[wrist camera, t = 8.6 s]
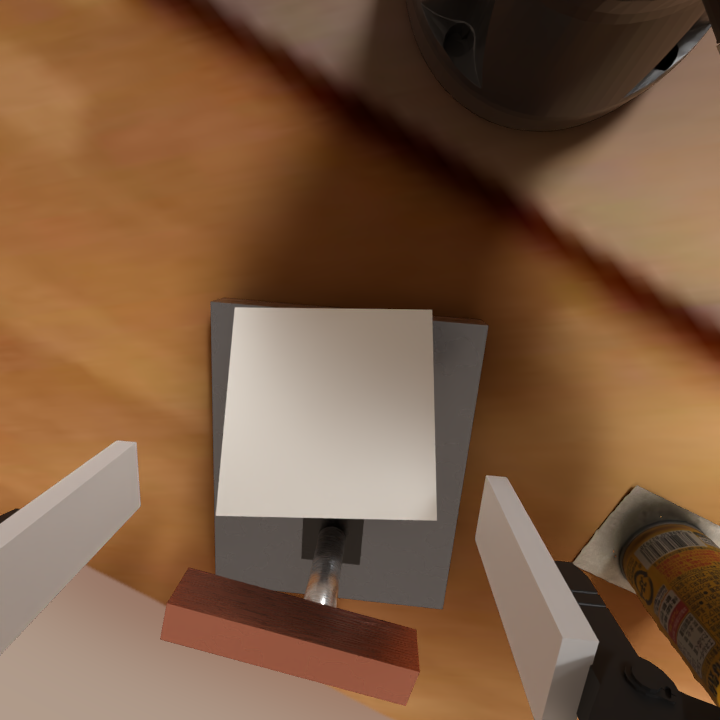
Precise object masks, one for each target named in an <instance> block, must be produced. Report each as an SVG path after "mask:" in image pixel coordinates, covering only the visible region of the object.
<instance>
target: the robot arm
mask: <svg viewBox="0 0 720 720" xmlns="http://www.w3.org/2000/svg"><path fill="white" fill-rule="evenodd" d="M406 3H407V9H408V14H409V19H410V22H411V26H412V30H413V33H414V36H415V39H416V41H417V44H418V46H419V49H420V51H421V53H422V55H423V57H424V59H425V61H426V63H427V65H428V66H429V68H430V69H431V71H432V73H433V74H434V75H435V77H436V78H437V80H438V81H439V82H440V83H441V85H442V86H443V87H444V88H445V89H446V91H447V92H448V93H449V94H450V95H451V96H452V97H454V98H455V99H456V100H457V101H458V102H459V103H460V104H462V105H463V106H464V107H466V108H467V109H469V110H470V111H471V112H473V113H475V114H477V115H478V116H480V117H482V118H484V119H486V120H488V121H490V122H493V123H496V124H498V125H502V126H505V127H509V128H513V129H518V130H527V131H552V130H559V129H565V128H570V127H574V126H577V125H581V124H584V123H587V122H589V121H592V120H595V119H597V118H599V117H601V116H604V115H606V114H607V113H609V112H611V111H613V110H615V109H617V108H618V107H620V106H621V105H623V104H625V103H626V102H628V101H630V100H631V99H633V98H635V97H636V96H638V95H639V94H641V93H642V92H644V91H646V90H647V89H649V88H650V87H651V86H653V85H654V84H655V83H657V82H658V81H659V80H660V79H662V78H663V77H664V76H665V75H666V74H668V73H669V72H670V71H671V70H672V69H673V68H674V67H675V66H676V65H677V64H678V63H680V62H681V61H682V60H683V59H684V58H685V57H686V56H687V55H688V53H689V52H690V51H691V50H692V49H693V48H694V47H695V46H696V45H697V43H698V42H699V41H700V40H701V39H702V37H703V36H704V35H705V33H706V32H707V31H708V30H709V28H710V27H711V26H712V29H713V32H714V34H715V37H716V40H717V44H718V43H720V0H406ZM717 49H718V51H719V54H720V44H719V45H718V46H717ZM140 506H141V502H140V487H139V473H138V458H137V443H136V442H127V441H115V442H114V443H112V444H111V445H110V446H108V447H107V448H105V449H104V450H103V451H101V452H100V453H98V454H97V455H96V456H94V457H93V458H91V459H90V460H89V461H87V462H86V463H84V464H83V465H82V466H80V467H79V468H77V469H76V470H75V471H73V472H72V473H70V474H69V475H68V476H66V477H65V478H63V479H62V480H61V481H59V482H58V483H56V484H55V485H54V486H52V487H51V488H49V489H48V490H47V491H45V492H44V493H42V494H41V495H40V496H38V497H37V498H35V499H34V500H33V501H31V502H30V503H29V504H27V505H26V506H24V507H23V508H22V509H14V510H12V511H10V512H7V513H5V514H3V515H1V516H0V655H1V654H2V653H3V652H4V651H5V650H6V649H7V648H8V647H9V646H10V645H11V643H12V642H13V641H14V640H15V639H16V638H17V637H18V636H19V635H20V634H21V633H22V632H23V631H24V630H25V629H26V627H27V626H28V625H29V624H30V623H31V622H32V621H33V620H34V619H35V618H36V617H37V616H38V615H39V614H40V613H41V611H43V609H44V608H45V607H46V606H47V605H48V604H49V603H50V602H51V601H52V600H53V599H54V598H55V597H56V596H57V595H58V594H59V592H60V591H61V590H62V589H63V588H64V587H65V586H66V585H67V584H68V583H69V582H70V581H71V580H72V579H73V578H74V577H75V576H76V574H77V573H78V572H79V571H80V570H81V569H82V568H83V567H84V566H85V565H86V564H87V563H88V562H89V561H90V560H91V559H92V557H93V556H94V555H95V554H96V553H97V552H98V551H99V550H100V549H101V548H102V547H103V546H104V545H105V544H106V543H107V542H108V540H109V539H110V538H111V537H112V536H113V535H114V534H115V533H116V532H117V531H118V530H119V529H120V528H121V527H122V526H123V525H124V523H125V522H126V521H127V520H128V519H129V518H130V517H131V516H132V515H133V514H134V513H135V512H136V511H137V510H138V509H139V508H140ZM475 541H476V544H477V547H478V550H479V553H480V556H481V559H482V562H483V565H484V568H485V571H486V574H487V577H488V580H489V583H490V586H491V590H492V593H493V596H494V599H495V602H496V605H497V608H498V611H499V614H500V617H501V620H502V623H503V626H504V629H505V632H506V635H507V638H508V641H509V644H510V647H511V650H512V653H513V656H514V659H515V663H516V666H517V669H518V672H519V675H520V678H521V681H522V684H523V687H524V690H525V693H526V696H527V699H528V702H529V705H530V708H531V711H532V714H533V717H534V720H577V717H578V719H579V720H720V707H718V706H715V705H712V704H710V703H707V702H704V701H702V700H699V699H696V698H694V697H691V696H689V695H686V694H684V693H682V692H680V691H678V689H677V687H676V686H675V684H674V683H673V681H672V680H671V679H670V678H669V677H668V676H667V675H666V674H665V673H664V672H663V671H662V670H660V669H659V668H658V667H656V666H655V665H654V664H652V663H651V662H649V661H647V660H645V659H643V658H641V657H639V656H638V655H637V653H636V652H635V650H634V649H633V647H632V646H631V644H630V642H629V641H628V639H627V638H626V636H625V635H624V633H623V631H622V630H621V628H620V627H619V625H618V624H617V622H616V620H615V619H614V617H613V616H612V614H611V613H610V611H609V609H608V608H606V605H605V603H604V602H603V600H602V598H601V597H600V595H598V594H597V591H596V589H595V587H594V586H593V584H592V583H591V581H590V580H589V578H588V577H587V576H586V575H585V574H584V573H583V572H582V571H581V570H580V569H579V568H578V567H576V566H575V565H574V564H573V563H572V562H562V561H554V560H553V559H552V557H551V555H550V553H549V551H548V550H547V548H546V546H545V544H544V542H543V541H542V539H541V537H540V535H539V534H538V532H537V530H536V528H535V526H534V525H533V523H532V521H531V519H530V518H529V516H528V514H527V512H526V510H525V509H524V507H523V505H522V503H521V501H520V500H519V498H518V496H517V494H516V493H515V491H514V489H513V487H512V485H511V484H510V482H509V480H508V478H507V477H500V476H489V475H486V478H485V484H484V490H483V495H482V501H481V507H480V512H479V518H478V524H477V530H476V535H475Z"/></svg>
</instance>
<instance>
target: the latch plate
mask: <svg viewBox="0 0 720 720" xmlns="http://www.w3.org/2000/svg"><path fill="white" fill-rule="evenodd" d="M235 307H248V308H332V309H350V308H338V307H326V306H315V305H303V304H291V303H280V302H268V301H256V300H245V299H233V298H221V299H218V300H214V301H211V350H212V404H213V459H214V514H215V568H216V575H218V576H222V577H226V578H229V579H233V580H237V581H240V582H244V583H248V584H251V585H255V586H259V587H262V588H266V589H269V590H273V591H282V592H291V593H300V594H305V592H306V588H307V583H308V579H309V575H310V571H311V566H312V562H313V558H314V553H315V549H316V545H317V540H318V536H319V533H320V531H321V530H322V529H323V528H325V527H329V526H334V527H337V528H339V529H341V530H342V531H343V533H344V534H345V546H344V554H343V561H342V568H341V576H340V583H339V590H338V598H345V599H354V600H363V601H372V602H381V603H390V604H399V605H408V606H417V607H426V608H435V609H443V604H444V598H445V592H446V586H447V579H448V573H449V567H450V561H451V555H452V548H453V542H454V536H455V530H456V524H457V517H458V511H459V505H460V499H461V493H462V487H463V480H464V474H465V468H466V462H467V456H468V449H469V443H470V437H471V431H472V425H473V418H474V412H475V406H476V400H477V394H478V388H479V381H480V375H481V369H482V363H483V357H484V350H485V344H486V338H487V332H488V325H487V324H486V323H484V322H483V321H482V320H478V319H467V318H455V317H443V316H432V323H433V368H434V412H435V457H436V502H437V521H433V520H387V519H340V518H294V517H247V516H216V507H217V496H218V485H219V474H220V463H221V452H222V441H223V430H224V419H225V409H226V398H227V387H228V376H229V365H230V354H231V343H232V332H233V321H234V310H235Z"/></svg>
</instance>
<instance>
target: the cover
mask: <svg viewBox="0 0 720 720" xmlns="http://www.w3.org/2000/svg"><path fill="white" fill-rule="evenodd" d="M216 516H247V517H294V518H340V519H387V520H433V521H437V502H436V457H435V412H434V368H433V323H432V310H416V309H332V308H248V307H235V310H234V321H233V332H232V343H231V354H230V365H229V376H228V387H227V398H226V409H225V419H224V430H223V441H222V452H221V463H220V474H219V485H218V496H217V507H216Z"/></svg>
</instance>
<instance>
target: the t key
mask: <svg viewBox="0 0 720 720" xmlns="http://www.w3.org/2000/svg"><path fill="white" fill-rule="evenodd" d="M344 546H345V534H344V533H343V531H342V530H341V529H339V528H337V527H334V526H329V527H325V528H323V529H322V530H321V531H320V533H319V536H318V540H317V545H316V549H315V553H314V558H313V562H312V566H311V571H310V575H309V579H308V583H307V588H306V592H305V596H304V599H302V598H299V597H295V596H291V595H288V594H284V593H280V592H277V591H273V590H269V589H266V588H262V587H259V586H255V585H251V584H248V583H244V582H240V581H237V580H233V579H229V578H226V577H222V576H218V575H215V574H211V573H207V572H204V571H200V570H196V569H193V568H188V570H187V571H186V573H185V575H184V576H183V578H182V580H181V581H180V583H179V584H178V586H177V588H176V589H175V591H174V593H173V594H172V596H171V597H170V599H169V601H168V602H167V605H166V611H165V617H164V622H163V627H162V632H161V638H160V639H161V640H164V641H168V642H172V643H176V644H179V645H183V646H186V647H190V648H194V649H198V650H201V651H205V652H209V653H212V654H216V655H220V656H223V657H227V658H231V659H234V660H238V661H242V662H245V663H249V664H253V665H257V666H260V667H264V668H268V669H271V670H275V671H279V672H282V673H286V674H290V675H293V676H297V677H301V678H305V679H309V680H312V681H316V682H319V683H323V684H327V685H330V686H334V687H338V688H341V689H345V690H349V691H353V692H356V693H360V694H364V695H367V696H371V697H375V698H378V699H382V700H386V701H389V702H393V703H397V704H401V705H404V706H406V704H407V701H408V699H409V696H410V694H411V692H412V689H413V687H414V684H415V682H416V680H417V677H418V675H419V673H420V670H419V658H418V646H417V633H416V629H412V628H408V627H405V626H401V625H397V624H394V623H390V622H386V621H383V620H379V619H375V618H372V617H368V616H364V615H361V614H357V613H353V612H350V611H346V610H343V609H339V608H336V605H337V598H338V590H339V583H340V576H341V568H342V561H343V554H344Z"/></svg>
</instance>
